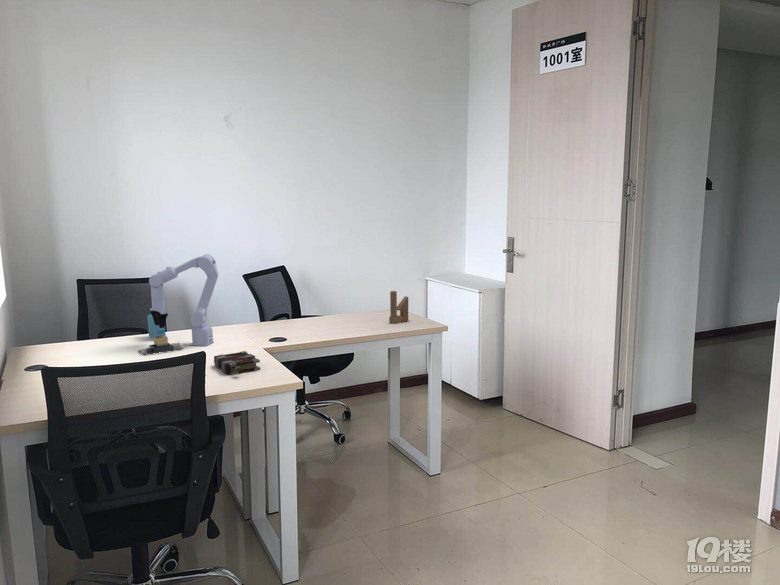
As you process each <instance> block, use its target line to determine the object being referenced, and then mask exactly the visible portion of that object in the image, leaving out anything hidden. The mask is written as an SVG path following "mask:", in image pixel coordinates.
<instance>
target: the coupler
mask: <svg viewBox="0 0 780 585" xmlns="http://www.w3.org/2000/svg"><path fill="white" fill-rule="evenodd" d="M168 341H169V339H168V336H167V335H166V336H165V335H162V336H155V337H154V339H153V344H154V347H155V348H160V347H166V346H168V343H169V342H168Z"/></svg>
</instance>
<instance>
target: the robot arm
mask: <svg viewBox="0 0 780 585" xmlns="http://www.w3.org/2000/svg"><path fill="white" fill-rule="evenodd" d="M192 268H196V269H197V268H200V269H201V270H202V271H203V272H204V274H205V275H206V280H205V283H204V286H203V289H202V291H201V295H200V298H199V301H198V303H197V306H196V308H195V311H194V314H193V315H192V316H191V318H190V321H189V322H190V325H191V339H192V340H191V343H189V344H188V346H197V347H201V346H203V347H207V346H209V345H212V344H213V343H215V342H214V334H213V328H212V326H208V325H207V323H206V321H207V318H208V317H207V314H208V308H209V305H210V302H211V299H212V296H213V293H214V290H215V287H216V283H217V281H218V278H219V271H218V267H217V261H216V260H215V258H214V257H213V256H212V255H210V254H209V253H208V254H203V255H202V256H198V257H195V258H192V259H190V260H188V261H186V262H184V263H183V264H180V265H178V266H176V267H174V266H167V267H165V269H164V270H162V271H157V272H156V274H153V275H151V276H149V279H148V283H149V285H150V293H151V294H150V296H151V308H149V313H150V314H151V315H152V317H153V320H154V323H155V325H159V327H160V328H164V327H165V328H166V321H167V317H168V315H169V314H168V312H166V307H165V306H166V305H165V294H164V293H165V292H164V284H165V283H168V282H171V281H173V280H174V279H177V278H178V275H179V274H180V273H182V272H184V271H187V270H189V269H192Z"/></svg>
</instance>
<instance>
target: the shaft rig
mask: <svg viewBox="0 0 780 585" xmlns="http://www.w3.org/2000/svg"><path fill="white" fill-rule="evenodd" d="M181 349H184V347H182V346H181V344H180V342H174V343H170V342H168V346H166V347H160V348H155V347H154V343H153V344H149V345H148V346H147V347H145V348H141V349H138V350H137V352H138V351H139V352H140V354H141V353H142V354H143V355H144V356H147V355H146V354H151V355H154V354H153V353H158V354H160V353H159V352H164V353H168V352H167V351H171V352H175V351H174V350H177V351H182V350H181ZM139 352H138V353H139ZM142 354H141V355H142ZM143 355H142V356H143Z"/></svg>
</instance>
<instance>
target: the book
mask: <svg viewBox="0 0 780 585" xmlns="http://www.w3.org/2000/svg"><path fill="white" fill-rule="evenodd" d="M260 362H261V360H260V359H259V358H256V357H255V355H254V354H252V353H248V351H246V350H244V351H243V350H242V351H239V352H233V353H232V352H231V353H226V354H223V353H222V354H217V355H214V356H213V363H214V366H215V368H217V369H220V370H221V372H222V373H223V374H225V375H228V376H229V375H230V376H231V375H236V374H237V375H238V374H239V375H240V374H242V373H247V372H252V371H254V372H255V371H260V370H261V367H260V366H258V365H257V363H260Z"/></svg>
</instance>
